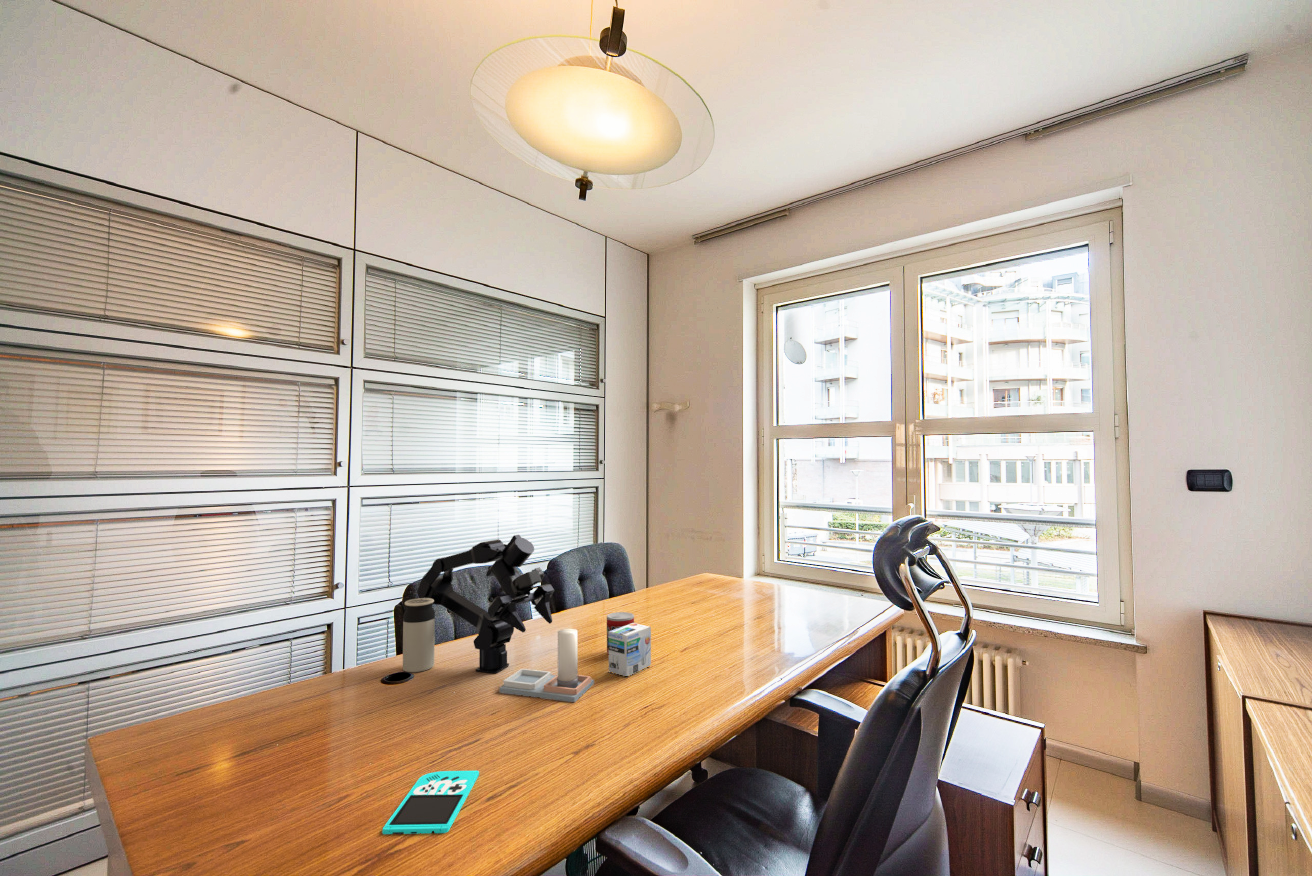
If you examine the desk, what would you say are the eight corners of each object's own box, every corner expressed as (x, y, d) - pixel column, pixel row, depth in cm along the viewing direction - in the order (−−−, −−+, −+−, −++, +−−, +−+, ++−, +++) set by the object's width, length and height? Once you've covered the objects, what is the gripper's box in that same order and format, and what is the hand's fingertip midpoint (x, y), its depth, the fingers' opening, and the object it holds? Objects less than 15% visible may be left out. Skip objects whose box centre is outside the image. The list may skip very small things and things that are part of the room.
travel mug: (426, 673, 148) (427, 604, 149) (397, 673, 148) (398, 604, 149) (438, 662, 156) (439, 597, 157) (410, 662, 156) (411, 597, 157)
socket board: (499, 692, 134) (499, 682, 135) (523, 676, 145) (523, 666, 145) (574, 702, 128) (574, 691, 128) (594, 684, 139) (594, 674, 139)
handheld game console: (480, 776, 99) (480, 769, 99) (448, 836, 83) (449, 827, 83) (423, 777, 98) (424, 770, 99) (380, 838, 82) (381, 828, 83)
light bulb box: (626, 678, 143) (626, 635, 144) (607, 672, 147) (607, 631, 148) (652, 666, 151) (651, 626, 152) (633, 661, 156) (632, 622, 156)
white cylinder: (555, 690, 132) (555, 634, 133) (558, 682, 137) (558, 628, 138) (576, 689, 133) (576, 634, 133) (578, 681, 138) (578, 628, 138)
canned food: (603, 651, 164) (603, 613, 164) (628, 647, 167) (628, 610, 168) (612, 659, 157) (612, 620, 157) (638, 655, 160) (638, 616, 161)
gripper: (495, 564, 138) (526, 615, 132) (549, 554, 154) (579, 599, 147) (474, 592, 142) (503, 643, 136) (529, 580, 158) (557, 625, 151)
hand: (538, 626), depth 142 cm, fingers open, 9 cm apart
